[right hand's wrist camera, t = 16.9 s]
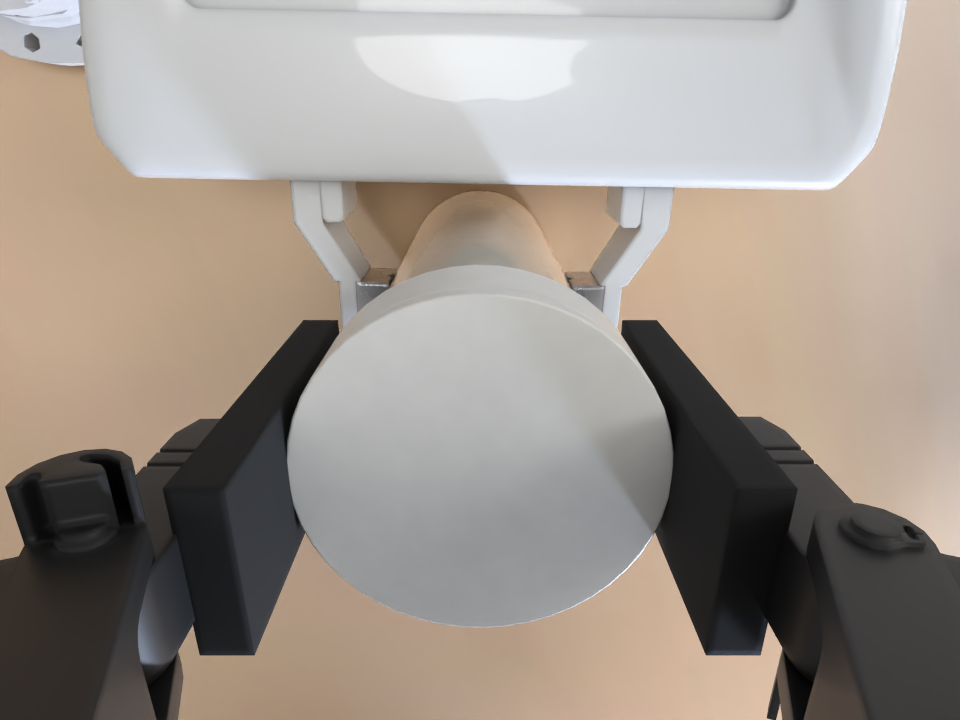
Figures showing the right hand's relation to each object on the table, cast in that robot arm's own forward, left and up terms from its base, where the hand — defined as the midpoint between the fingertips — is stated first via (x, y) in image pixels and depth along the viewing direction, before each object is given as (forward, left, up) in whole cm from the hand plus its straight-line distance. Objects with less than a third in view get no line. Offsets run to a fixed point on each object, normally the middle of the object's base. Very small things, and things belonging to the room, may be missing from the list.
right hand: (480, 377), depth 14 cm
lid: (0, 0, +4) cm, 4 cm away
